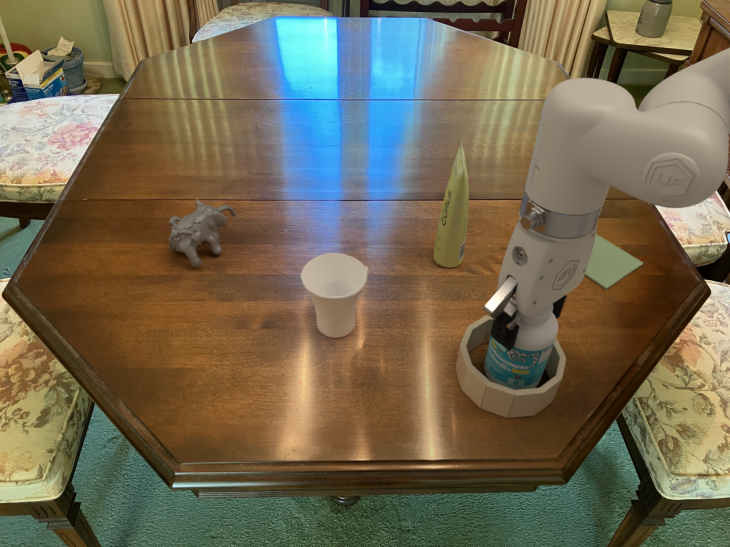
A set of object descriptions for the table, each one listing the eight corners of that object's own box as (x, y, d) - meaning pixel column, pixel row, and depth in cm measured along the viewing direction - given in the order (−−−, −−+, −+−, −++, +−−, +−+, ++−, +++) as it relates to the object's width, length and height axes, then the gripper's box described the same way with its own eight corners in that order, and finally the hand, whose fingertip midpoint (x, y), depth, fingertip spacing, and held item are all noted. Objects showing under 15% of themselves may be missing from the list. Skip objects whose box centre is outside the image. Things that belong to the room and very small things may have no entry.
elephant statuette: (161, 260, 90) (149, 223, 84) (203, 219, 98) (195, 182, 92) (209, 275, 87) (200, 238, 82) (249, 232, 95) (243, 195, 90)
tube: (424, 254, 92) (436, 151, 78) (446, 243, 94) (461, 140, 80) (447, 273, 88) (464, 168, 75) (470, 260, 91) (490, 157, 77)
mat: (642, 264, 91) (643, 262, 90) (605, 289, 86) (606, 287, 86) (592, 233, 96) (592, 231, 96) (555, 255, 92) (555, 253, 92)
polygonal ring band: (575, 383, 73) (586, 360, 70) (508, 435, 67) (516, 413, 64) (502, 324, 80) (509, 300, 77) (436, 366, 75) (440, 342, 71)
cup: (374, 340, 78) (376, 290, 71) (309, 350, 76) (305, 300, 70) (361, 296, 84) (362, 246, 77) (301, 305, 83) (296, 255, 76)
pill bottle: (472, 374, 73) (487, 303, 64) (502, 343, 77) (520, 271, 68) (521, 407, 69) (545, 337, 60) (550, 372, 73) (577, 301, 64)
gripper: (530, 262, 49) (498, 382, 61) (644, 195, 56) (595, 313, 68) (470, 221, 53) (451, 340, 65) (583, 164, 61) (547, 280, 73)
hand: (525, 326), depth 67 cm, fingers closed on pill bottle, 7 cm apart
